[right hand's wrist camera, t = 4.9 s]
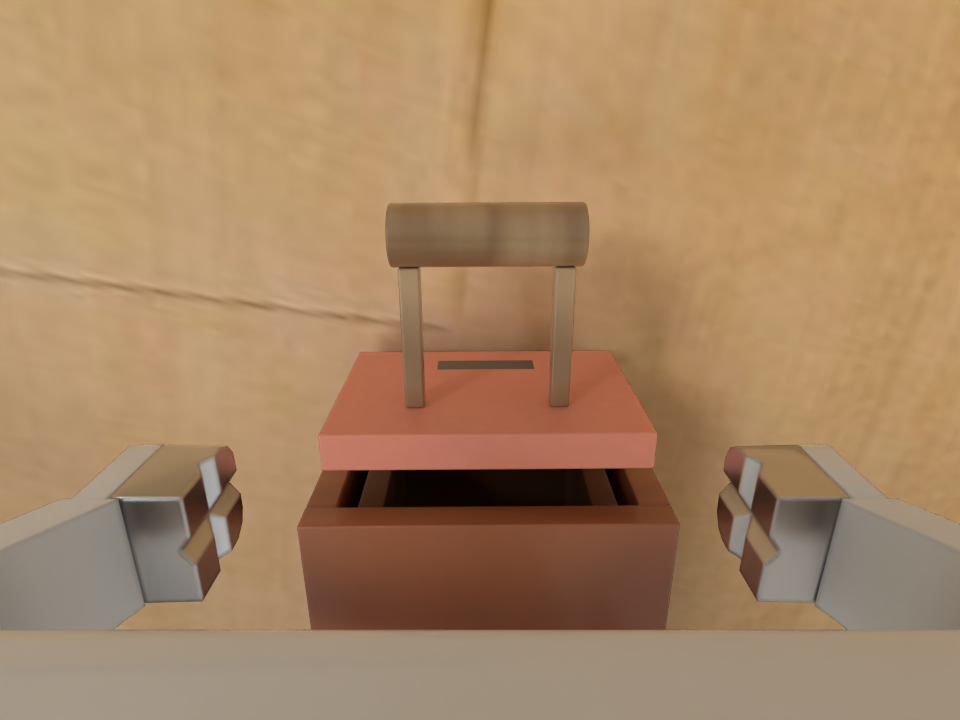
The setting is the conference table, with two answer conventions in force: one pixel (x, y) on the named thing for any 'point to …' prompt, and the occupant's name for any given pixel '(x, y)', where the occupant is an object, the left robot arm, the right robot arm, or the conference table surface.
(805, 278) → the conference table surface
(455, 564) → the brown open box
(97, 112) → the conference table surface
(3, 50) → the conference table surface
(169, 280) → the conference table surface
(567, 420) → the drawer
